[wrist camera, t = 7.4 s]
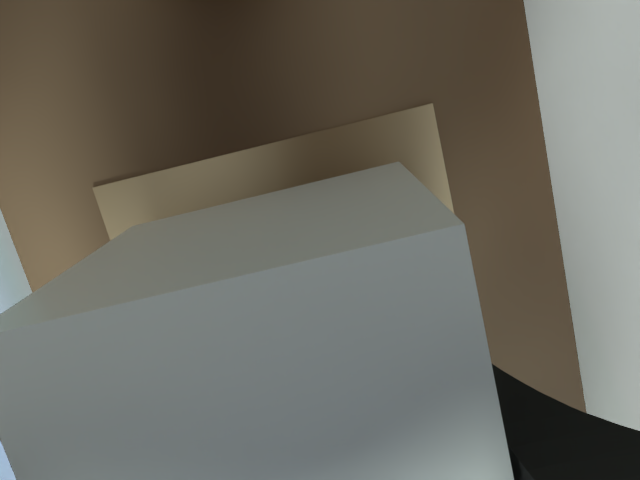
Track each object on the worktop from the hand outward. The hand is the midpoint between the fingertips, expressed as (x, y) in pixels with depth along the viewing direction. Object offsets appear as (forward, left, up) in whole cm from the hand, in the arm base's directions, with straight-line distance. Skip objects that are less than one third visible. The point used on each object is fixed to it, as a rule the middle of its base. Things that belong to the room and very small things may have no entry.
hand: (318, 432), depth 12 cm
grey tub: (0, 0, -2) cm, 2 cm away
